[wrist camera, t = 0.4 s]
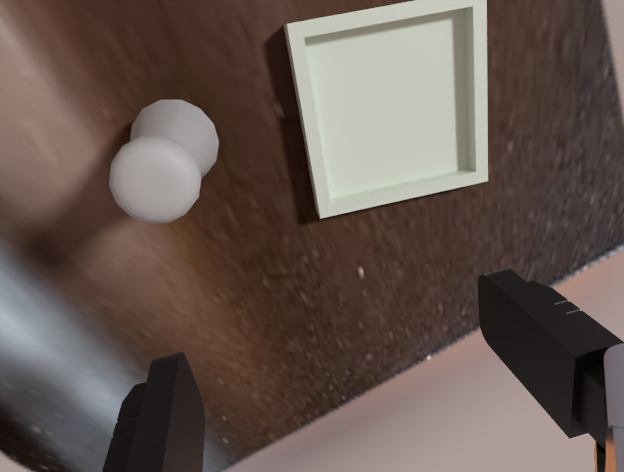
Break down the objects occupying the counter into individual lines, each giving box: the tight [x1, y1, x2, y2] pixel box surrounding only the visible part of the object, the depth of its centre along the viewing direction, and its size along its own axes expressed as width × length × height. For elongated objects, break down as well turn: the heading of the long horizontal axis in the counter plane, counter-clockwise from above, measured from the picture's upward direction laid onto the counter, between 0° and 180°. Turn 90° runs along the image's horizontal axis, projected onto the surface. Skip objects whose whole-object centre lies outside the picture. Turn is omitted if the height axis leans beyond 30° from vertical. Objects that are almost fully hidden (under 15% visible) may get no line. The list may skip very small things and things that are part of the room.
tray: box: [284, 0, 488, 219], centre depth 34 cm, size 14×14×2 cm
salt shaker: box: [109, 100, 219, 223], centre depth 27 cm, size 6×6×13 cm
